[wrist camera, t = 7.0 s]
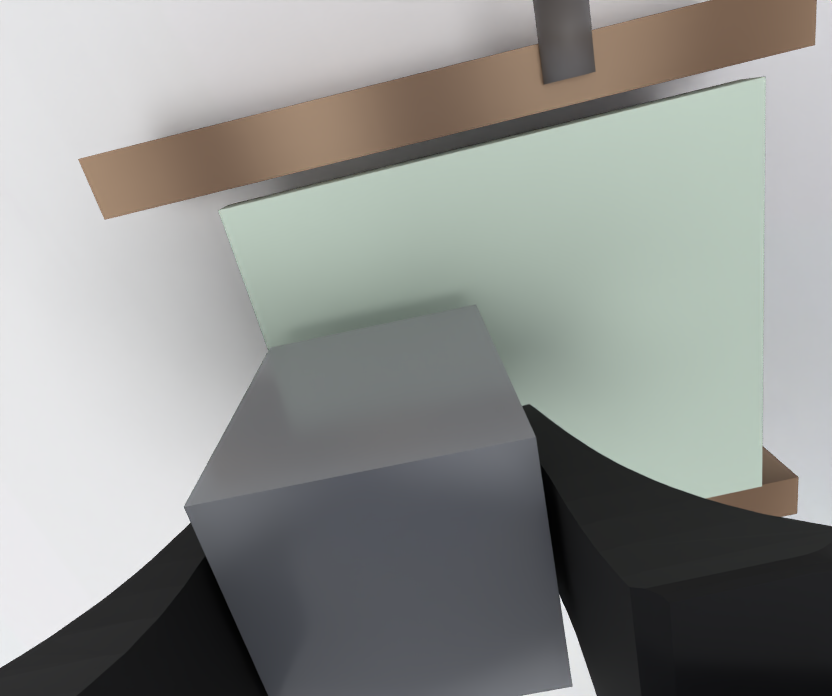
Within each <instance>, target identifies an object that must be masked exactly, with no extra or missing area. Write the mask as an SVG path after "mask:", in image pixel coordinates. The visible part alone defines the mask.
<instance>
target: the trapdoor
mask: <svg viewBox="0 0 832 696" xmlns="http://www.w3.org/2000/svg"><path fill="white" fill-rule="evenodd" d="M765 88H766V77H758V78H749V79H741V80H737V81H733V82H729V83H724V84H720V85H716V86H712V87H708V88H704V89H700V90H696V91H692V92H688V93H684V94H680V95H675V96H671V97H667V98H663V99H659V100H655V101H651V102H647V103H643V104H639V105H635V106H631V107H626V108H622V109H618V110H614V111H610V112H606V113H602V114H598V115H594V116H590V117H586V118H582V119H577V120H573V121H569V122H565V123H561V124H557V125H553V126H549V127H545V128H541V129H537V130H533V131H528V132H524V133H520V134H516V135H512V136H508V137H504V138H500V139H496V140H492V141H488V142H484V143H479V144H475V145H471V146H467V147H463V148H459V149H455V150H451V151H447V152H443V153H439V154H434V155H430V156H426V157H422V158H418V159H414V160H410V161H406V162H402V163H398V164H394V165H390V166H385V167H381V168H377V169H373V170H369V171H365V172H361V173H357V174H353V175H349V176H345V177H341V178H336V179H332V180H328V181H324V182H320V183H316V184H312V185H308V186H304V187H300V188H296V189H292V190H287V191H283V192H279V193H275V194H271V195H267V196H263V197H259V198H255V199H251V200H247V201H243V202H238V203H234V204H230V205H228V206H226V207H224V208H222V209H220V210H218V211H219V214H220V217H221V220H222V223H223V225H224V228H225V231H226V234H227V237H228V239H229V242H230V245H231V248H232V251H233V253H234V256H235V259H236V262H237V264H238V267H239V270H240V273H241V276H242V278H243V281H244V284H245V287H246V290H247V292H248V295H249V298H250V301H251V304H252V306H253V309H254V312H255V315H256V318H257V320H258V323H259V326H260V329H261V332H262V334H263V337H264V340H265V343H266V345H267V348H268V351H269V349H270V347H275V346H280V345H284V344H289V343H294V342H299V341H303V340H308V339H313V338H318V337H322V336H327V335H332V334H337V333H342V332H346V331H351V330H356V329H361V328H365V327H370V326H375V325H380V324H384V323H389V322H394V321H399V320H404V319H408V318H413V317H418V316H423V315H427V314H432V313H437V312H442V311H446V310H451V309H456V308H461V307H466V306H470V305H475V304H476V305H477V308H478V310H479V312H480V314H481V316H482V319H483V321H484V323H485V325H486V328H487V330H488V332H489V334H490V336H491V339H492V341H493V343H494V345H495V347H496V350H497V352H498V354H499V356H500V359H501V361H502V363H503V365H504V367H505V370H506V372H507V374H508V376H509V378H510V381H511V383H512V385H513V387H514V390H515V392H516V394H517V396H518V398H519V401H520V403H521V405H522V406H523V405H527V404H530V405H532V406H533V407H535V408H536V409H537V410H539V411H540V412H541V413H542V414H544V415H545V416H546V417H548V418H549V419H550V420H552V421H553V422H554V423H556V424H557V425H558V426H560V427H561V428H562V429H564V430H565V431H567V432H568V433H569V434H571V435H572V436H574V437H575V438H577V439H578V440H580V441H581V442H583V443H584V444H586V445H587V446H589V447H590V448H592V449H594V450H595V451H597V452H599V453H600V454H602V455H604V456H606V457H608V458H609V459H611V460H613V461H615V462H617V463H618V464H620V465H622V466H624V467H626V468H628V469H631V470H633V471H635V472H637V473H640V474H642V475H644V476H646V477H648V478H651V479H653V480H655V481H658V482H660V483H663V484H665V485H668V486H670V487H673V488H676V489H679V490H682V491H685V492H688V493H691V494H693V495H696V496H699V497H702V498H705V499H706V498H710V497H715V496H720V495H724V494H729V493H733V492H738V491H743V490H747V489H752V488H757V487H761V486H762V439H763V322H764V205H765Z"/></svg>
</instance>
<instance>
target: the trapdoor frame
mask: <svg viewBox="0 0 832 696" xmlns="http://www.w3.org/2000/svg"><path fill="white" fill-rule="evenodd" d="M533 4H534V12H535V20H536V28H537V36H538V43H539V44H535V45H531V46H527V47H523V48H519V49H515V50H511V51H507V52H503V53H499V54H495V55H491V56H487V57H483V58H479V59H475V60H471V61H467V62H463V63H459V64H455V65H451V66H447V67H443V68H439V69H435V70H431V71H427V72H423V73H419V74H415V75H411V76H407V77H403V78H399V79H395V80H391V81H387V82H383V83H379V84H375V85H371V86H367V87H364V88H360V89H356V90H352V91H348V92H344V93H340V94H336V95H332V96H328V97H324V98H320V99H316V100H312V101H308V102H304V103H300V104H296V105H292V106H288V107H284V108H280V109H276V110H272V111H268V112H264V113H260V114H256V115H252V116H248V117H244V118H240V119H236V120H232V121H228V122H224V123H220V124H216V125H212V126H208V127H204V128H200V129H196V130H192V131H188V132H184V133H180V134H176V135H172V136H168V137H164V138H160V139H156V140H152V141H148V142H144V143H140V144H136V145H132V146H128V147H125V148H121V149H117V150H113V151H109V152H105V153H101V154H97V155H93V156H89V157H85V158H81V159H78V160H79V162H80V164H81V167H82V169H83V171H84V173H85V176H86V178H87V180H88V183H89V185H90V187H91V189H92V192H93V194H94V196H95V199H96V201H97V203H98V205H99V208H100V210H101V212H102V215H103V217H104V219H110V218H114V217H118V216H122V215H126V214H130V213H134V212H138V211H142V210H146V209H150V208H154V207H158V206H162V205H166V204H171V203H175V202H179V201H183V200H187V199H191V198H195V197H199V196H203V195H207V194H211V193H215V192H219V191H223V190H227V189H232V188H236V187H240V186H244V185H248V184H252V183H256V182H260V181H264V180H268V179H272V178H276V177H280V176H284V175H288V174H292V173H297V172H301V171H305V170H309V169H313V168H317V167H321V166H325V165H329V164H333V163H337V162H341V161H345V160H349V159H353V158H358V157H362V156H366V155H370V154H374V153H378V152H382V151H386V150H390V149H394V148H398V147H402V146H406V145H410V144H414V143H418V142H423V141H427V140H431V139H435V138H439V137H443V136H447V135H451V134H455V133H459V132H463V131H467V130H471V129H475V128H479V127H484V126H488V125H492V124H496V123H500V122H504V121H508V120H512V119H516V118H520V117H524V116H528V115H532V114H536V113H540V112H545V111H549V110H553V109H557V108H561V107H565V106H569V105H573V104H577V103H581V102H585V101H589V100H593V99H597V98H601V97H605V96H610V95H614V94H618V93H622V92H626V91H630V90H634V89H638V88H642V87H646V86H650V85H654V84H658V83H662V82H666V81H671V80H675V79H679V78H683V77H687V76H691V75H695V74H699V73H703V72H707V71H711V70H715V69H719V68H723V67H727V66H731V65H736V64H740V63H744V62H748V61H752V60H756V59H760V58H764V57H768V56H772V55H776V54H780V53H784V52H788V51H792V50H797V49H801V48H805V47H809V46H813V45H815V31H816V4H817V0H710V1H706V2H702V3H698V4H694V5H690V6H686V7H682V8H678V9H674V10H670V11H666V12H662V13H658V14H654V15H650V16H646V17H642V18H638V19H634V20H630V21H626V22H622V23H618V24H614V25H610V26H606V27H602V28H599V29H595V30H592V28H591V18H590V7H589V0H533ZM706 499H709V500H712V501H716V502H719V503H723V504H726V505H730V506H734V507H738V508H742V509H746V510H750V511H754V512H758V513H762V514H767V515H772V516H777V517H783V516H787V515H792V514H797V502H798V476H797V475H795V474H794V473H793V472H792V471H791V470H790V469H788V468H787V467H786V466H785V465H784V464H783V463H782V462H780V461H779V460H778V459H777V458H776V457H775V456H773V455H772V454H771V453H770V452H769V451H768V450H766V449H765V448H764V447H763V446H762V486H761V487H757V488H752V489H747V490H743V491H738V492H733V493H729V494H724V495H720V496H715V497H710V498H706Z"/></svg>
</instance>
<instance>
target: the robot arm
mask: <svg viewBox="0 0 832 696" xmlns="http://www.w3.org/2000/svg"><path fill="white" fill-rule="evenodd" d="M522 407H523V410H524V412H525V414H526V416H527V418H528V421H529V423H530V425H531V427H532V429H533V432H534V434H535V436H536V441H537V448H538V455H539V462H540V468H541V475H542V482H543V489H544V496H545V502H546V509H547V516H548V523H549V530H550V536H551V543H552V550H553V557H554V564H555V570H556V577H557V584H558V591H559V595H560V597H561V599H562V602H563V604H564V606H565V608H566V610H567V613H568V615H569V618H570V620H571V623H572V625H573V628H574V630H575V633H576V635H577V638H578V641H579V644H580V647H581V650H582V653H583V656H584V659H585V662H586V665H587V668H588V671H589V674H590V677H591V679H592V682H593V685H594V689H595V692H596V695H597V696H832V526H827V525H821V524H816V523H810V522H805V521H799V520H794V519H788V518H783V517H777V516H772V515H767V514H762V513H758V512H754V511H750V510H746V509H742V508H738V507H734V506H730V505H726V504H723V503H719V502H716V501H712V500H709V499H705V498H702V497H699V496H696V495H693V494H691V493H688V492H685V491H682V490H679V489H676V488H673V487H670V486H668V485H665V484H663V483H660V482H658V481H655V480H653V479H651V478H648V477H646V476H644V475H642V474H640V473H637V472H635V471H633V470H631V469H628V468H626V467H624V466H622V465H620V464H618V463H617V462H615V461H613V460H611V459H609V458H608V457H606V456H604V455H602V454H600V453H599V452H597V451H595V450H594V449H592V448H590V447H589V446H587V445H586V444H584V443H583V442H581V441H580V440H578V439H577V438H575V437H574V436H572V435H571V434H569V433H568V432H567V431H565V430H564V429H562V428H561V427H560V426H558V425H557V424H556V423H554V422H553V421H552V420H550V419H549V418H548V417H546V416H545V415H544V414H542V413H541V412H540V411H539V410H537V409H536V408H535V407H533V406H532V405H530V404H527V405H523V406H522ZM0 696H268V694H267V692H266V690H265V687H264V685H263V683H262V681H261V678H260V676H259V674H258V672H257V669H256V667H255V665H254V663H253V660H252V658H251V656H250V654H249V652H248V649H247V647H246V645H245V643H244V640H243V638H242V636H241V634H240V631H239V629H238V627H237V625H236V622H235V620H234V618H233V616H232V613H231V611H230V609H229V607H228V605H227V602H226V600H225V598H224V596H223V593H222V591H221V589H220V587H219V584H218V582H217V580H216V578H215V575H214V573H213V571H212V569H211V567H210V564H209V562H208V560H207V558H206V555H205V553H204V551H203V549H202V546H201V544H200V542H199V540H198V537H197V535H196V533H195V531H194V529H193V526H192V524H191V523H190V524H189V525H188V526H187V527H186V528H185V529H184V530H183V531H182V532H181V533H179V534H178V535H177V536H176V537H175V538H174V539H173V540H172V541H171V542H170V543H169V544H168V545H167V546H166V547H165V548H163V549H162V550H161V551H160V552H159V553H158V554H157V555H156V556H155V557H154V558H153V559H152V560H151V561H149V562H148V563H147V564H146V565H145V566H144V567H143V568H141V569H140V570H139V571H138V572H137V573H136V574H134V575H133V576H132V577H131V578H130V579H128V580H127V581H126V582H125V583H123V584H122V585H121V586H120V587H118V588H117V589H116V590H115V591H113V592H112V593H111V594H110V595H108V596H107V597H106V598H104V599H103V600H102V601H100V602H99V603H98V604H96V605H95V606H93V607H92V608H91V609H89V610H88V611H86V612H85V613H83V614H82V615H81V616H79V617H78V618H76V619H75V620H74V621H72V622H71V623H69V624H68V625H66V626H65V627H64V628H62V629H61V630H59V631H58V632H57V633H55V634H54V635H52V636H51V637H49V638H48V639H46V640H45V641H43V642H41V643H40V644H38V645H37V646H35V647H34V648H32V649H30V650H29V651H27V652H26V653H24V654H23V655H21V656H19V657H18V658H16V659H14V660H13V661H11V662H9V663H8V664H6V665H4V666H3V667H1V668H0Z"/></svg>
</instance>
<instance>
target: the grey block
mask: <svg viewBox="0 0 832 696" xmlns="http://www.w3.org/2000/svg"><path fill="white" fill-rule="evenodd" d="M184 508H185V511H186V513H187V515H188V517H189V520H190V522H191V524H192V526H193V529H194V531H195V533H196V535H197V537H198V540H199V542H200V544H201V546H202V549H203V551H204V553H205V555H206V558H207V560H208V562H209V564H210V567H211V569H212V571H213V573H214V575H215V578H216V580H217V582H218V584H219V587H220V589H221V591H222V593H223V596H224V598H225V600H226V602H227V605H228V607H229V609H230V611H231V613H232V616H233V618H234V620H235V622H236V625H237V627H238V629H239V631H240V634H241V636H242V638H243V640H244V643H245V645H246V647H247V649H248V652H249V654H250V656H251V658H252V660H253V663H254V665H255V667H256V669H257V672H258V674H259V676H260V678H261V681H262V683H263V685H264V687H265V690H266V692H267V694H268V696H522V695H527V694H533V693H539V692H544V691H550V690H555V689H561V688H567V687H572V679H571V673H570V666H569V659H568V652H567V645H566V639H565V632H564V625H563V618H562V611H561V604H560V598H559V591H558V584H557V577H556V570H555V564H554V557H553V550H552V543H551V536H550V530H549V523H548V516H547V509H546V502H545V496H544V489H543V482H542V475H541V468H540V462H539V455H538V448H537V441H536V436H535V434H534V432H533V429H532V427H531V425H530V423H529V421H528V418H527V416H526V414H525V412H524V410H523V407H522V405H521V403H520V401H519V398H518V396H517V394H516V392H515V390H514V387H513V385H512V383H511V381H510V378H509V376H508V374H507V372H506V370H505V367H504V365H503V363H502V361H501V359H500V356H499V354H498V352H497V350H496V347H495V345H494V343H493V341H492V339H491V336H490V334H489V332H488V330H487V328H486V325H485V323H484V321H483V319H482V316H481V314H480V312H479V310H478V308H477V305H476V304H475V305H470V306H466V307H461V308H456V309H451V310H446V311H442V312H437V313H432V314H427V315H423V316H418V317H413V318H408V319H404V320H399V321H394V322H389V323H384V324H380V325H375V326H370V327H365V328H361V329H356V330H351V331H346V332H342V333H337V334H332V335H327V336H322V337H318V338H313V339H308V340H303V341H299V342H294V343H289V344H284V345H280V346H275V347H270V349H269V351H268V353H267V355H266V356H265V358H264V360H263V362H262V364H261V366H260V368H259V369H258V371H257V373H256V375H255V377H254V379H253V380H252V382H251V384H250V386H249V388H248V390H247V391H246V393H245V395H244V397H243V399H242V401H241V403H240V404H239V406H238V408H237V410H236V412H235V414H234V415H233V417H232V419H231V421H230V423H229V425H228V426H227V428H226V430H225V432H224V434H223V436H222V438H221V439H220V441H219V443H218V445H217V447H216V449H215V450H214V452H213V454H212V456H211V458H210V460H209V461H208V463H207V465H206V467H205V469H204V471H203V473H202V474H201V476H200V478H199V480H198V482H197V484H196V485H195V487H194V489H193V491H192V493H191V495H190V496H189V498H188V500H187V502H186V504H185V506H184Z"/></svg>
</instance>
